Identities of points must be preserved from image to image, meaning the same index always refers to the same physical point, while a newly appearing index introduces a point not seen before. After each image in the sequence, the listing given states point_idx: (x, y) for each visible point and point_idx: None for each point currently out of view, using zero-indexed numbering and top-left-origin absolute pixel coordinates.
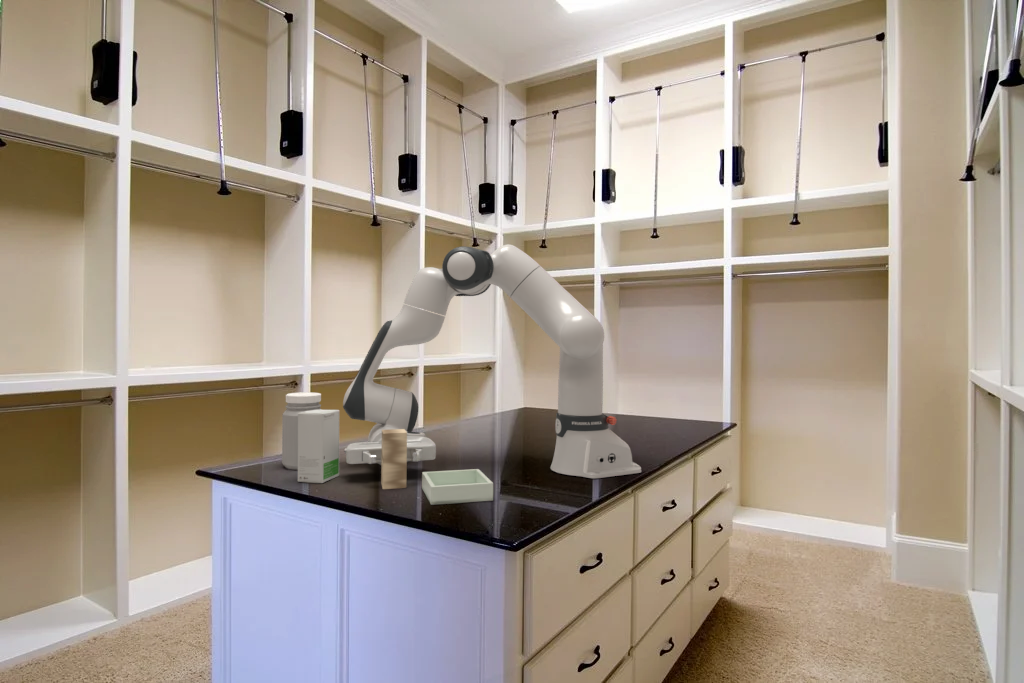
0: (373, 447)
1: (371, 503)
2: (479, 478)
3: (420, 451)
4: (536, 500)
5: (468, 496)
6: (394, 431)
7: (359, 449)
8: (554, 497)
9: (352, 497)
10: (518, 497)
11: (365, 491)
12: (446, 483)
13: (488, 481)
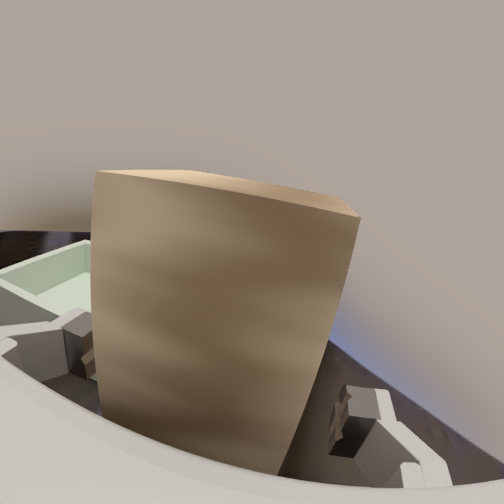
0: (379, 491)
1: (326, 363)
2: (29, 276)
3: (21, 327)
4: (43, 251)
5: None
6: (245, 183)
7: (488, 483)
8: (17, 246)
9: None
10: None
11: (339, 457)
12: None
13: (79, 244)
